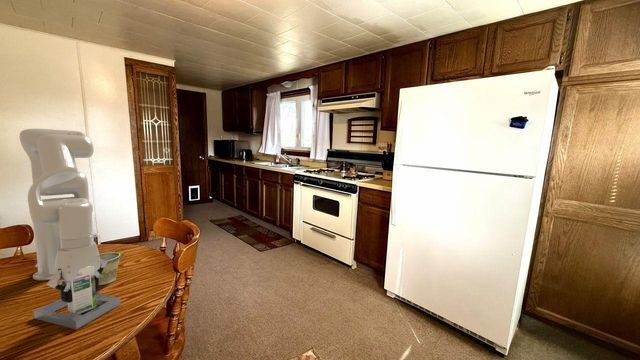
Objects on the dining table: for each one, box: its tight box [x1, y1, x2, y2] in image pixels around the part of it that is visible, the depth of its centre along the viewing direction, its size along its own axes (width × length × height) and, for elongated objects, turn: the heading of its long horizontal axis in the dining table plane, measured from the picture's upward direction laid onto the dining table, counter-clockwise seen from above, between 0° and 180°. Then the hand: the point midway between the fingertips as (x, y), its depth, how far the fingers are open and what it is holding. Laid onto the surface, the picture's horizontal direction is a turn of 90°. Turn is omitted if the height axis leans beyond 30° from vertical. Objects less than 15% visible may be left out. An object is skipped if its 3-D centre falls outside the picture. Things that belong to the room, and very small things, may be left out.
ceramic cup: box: [98, 251, 125, 286], centre depth 104 cm, size 13×10×10 cm
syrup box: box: [67, 265, 98, 315], centre depth 83 cm, size 6×6×14 cm
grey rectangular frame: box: [33, 292, 121, 330], centre depth 84 cm, size 18×13×2 cm
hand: (81, 294), depth 83 cm, fingers closed on syrup box, 6 cm apart
